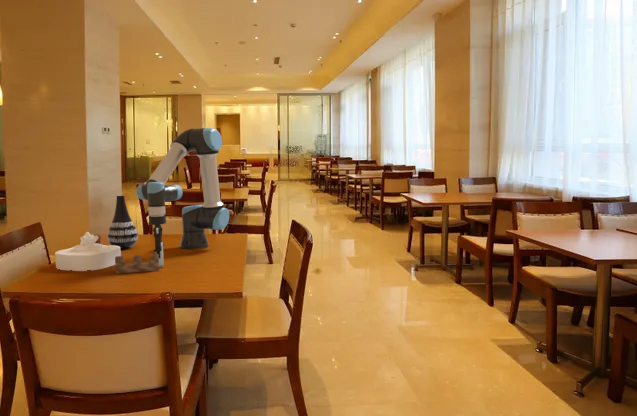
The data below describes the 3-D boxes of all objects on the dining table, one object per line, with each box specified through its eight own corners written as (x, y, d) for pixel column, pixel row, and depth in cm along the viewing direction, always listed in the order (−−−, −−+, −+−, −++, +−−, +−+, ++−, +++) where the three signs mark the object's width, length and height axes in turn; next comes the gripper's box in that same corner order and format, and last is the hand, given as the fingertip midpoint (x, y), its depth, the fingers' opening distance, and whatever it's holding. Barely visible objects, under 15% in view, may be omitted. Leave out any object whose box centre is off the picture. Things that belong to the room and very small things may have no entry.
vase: (101, 250, 286) (98, 196, 283) (122, 245, 301) (119, 193, 298) (124, 251, 280) (121, 196, 277) (144, 246, 295) (142, 194, 292)
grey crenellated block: (159, 269, 238) (158, 253, 237) (158, 270, 235) (158, 255, 234) (116, 272, 233) (115, 256, 232) (115, 273, 230) (115, 257, 230)
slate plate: (157, 263, 250) (155, 242, 249) (163, 262, 251) (162, 242, 250) (156, 267, 241) (155, 246, 240) (163, 267, 241) (162, 245, 240)
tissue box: (128, 261, 258) (126, 228, 256) (92, 272, 234) (90, 236, 233) (86, 258, 266) (84, 226, 264) (47, 269, 242) (45, 234, 240)
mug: (91, 252, 279) (90, 233, 278) (106, 253, 278) (105, 233, 277) (76, 257, 268) (75, 237, 267) (92, 257, 266) (90, 237, 265)
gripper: (149, 213, 253) (152, 258, 256) (147, 218, 231) (149, 268, 234) (166, 212, 255) (168, 257, 258) (165, 217, 233) (167, 267, 236)
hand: (159, 262), depth 246 cm, fingers closed on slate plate, 10 cm apart
